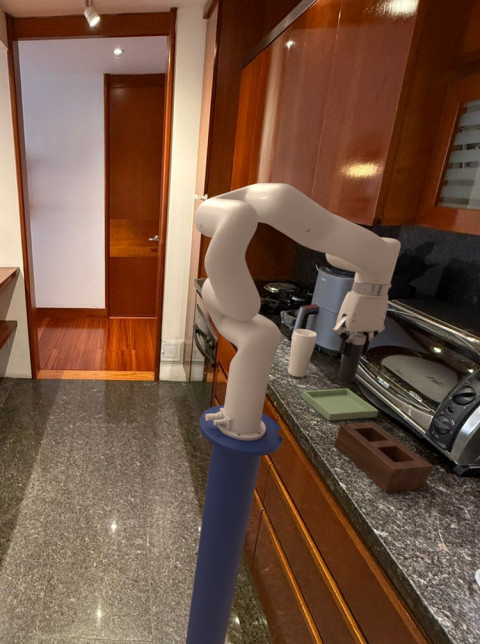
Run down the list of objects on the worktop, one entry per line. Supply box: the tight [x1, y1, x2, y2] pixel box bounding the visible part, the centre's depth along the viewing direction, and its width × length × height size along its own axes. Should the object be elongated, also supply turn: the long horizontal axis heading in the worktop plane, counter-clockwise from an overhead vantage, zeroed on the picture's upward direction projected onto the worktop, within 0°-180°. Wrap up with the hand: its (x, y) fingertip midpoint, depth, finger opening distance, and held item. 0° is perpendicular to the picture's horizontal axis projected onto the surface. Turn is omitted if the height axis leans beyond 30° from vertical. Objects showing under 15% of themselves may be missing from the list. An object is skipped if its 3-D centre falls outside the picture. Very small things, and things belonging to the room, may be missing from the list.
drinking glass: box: [287, 328, 318, 378], centre depth 126 cm, size 7×7×15 cm
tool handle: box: [337, 332, 366, 383], centre depth 105 cm, size 4×4×13 cm
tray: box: [301, 388, 379, 422], centre depth 110 cm, size 14×12×2 cm
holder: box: [334, 421, 433, 493], centre depth 87 cm, size 9×16×6 cm, turn 7°
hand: (352, 353), depth 104 cm, fingers closed on tool handle, 4 cm apart
